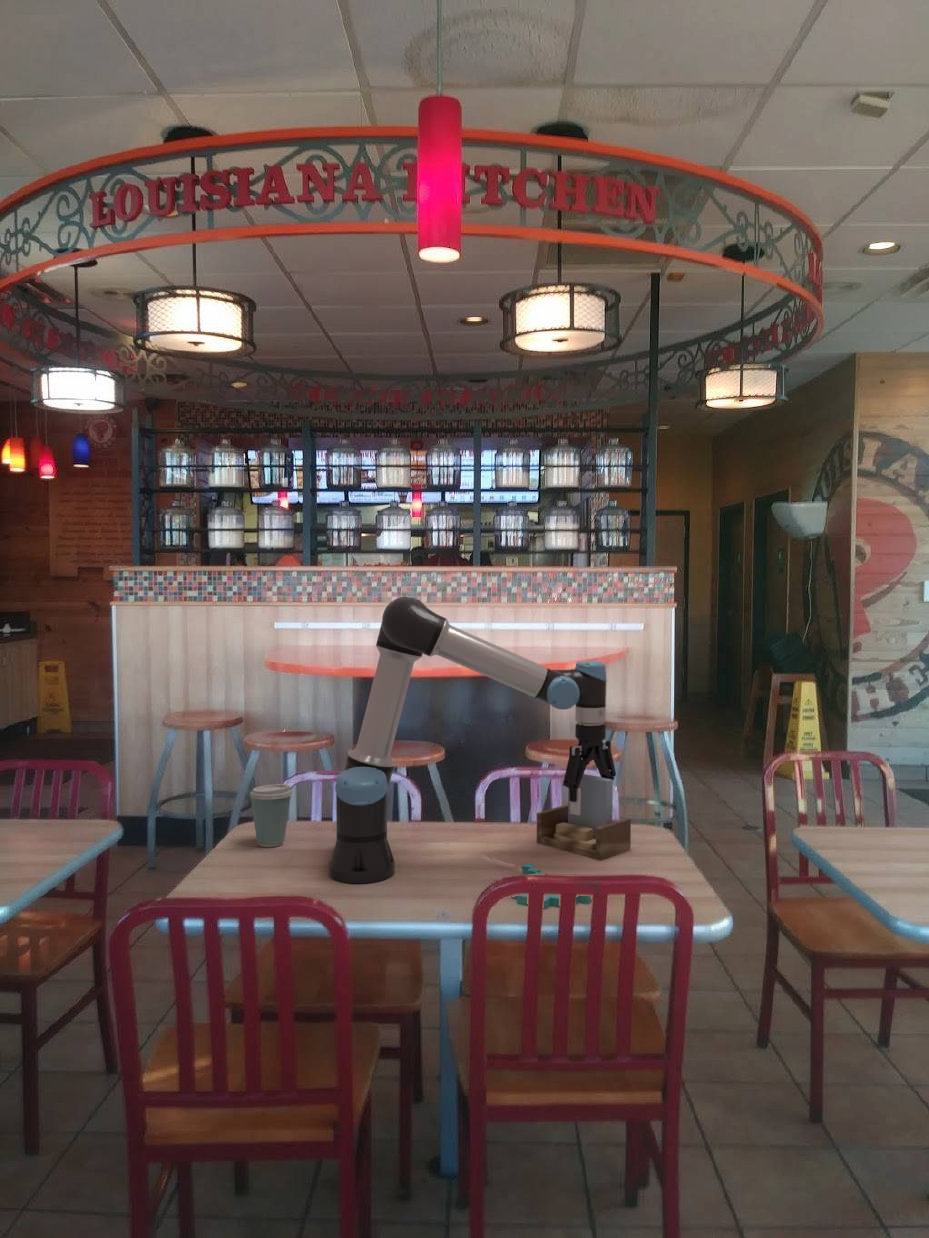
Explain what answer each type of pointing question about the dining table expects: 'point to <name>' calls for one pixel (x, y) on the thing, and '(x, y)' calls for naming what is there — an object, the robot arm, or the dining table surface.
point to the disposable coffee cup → (270, 813)
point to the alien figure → (549, 899)
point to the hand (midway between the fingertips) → (589, 809)
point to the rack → (607, 837)
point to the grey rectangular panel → (594, 802)
